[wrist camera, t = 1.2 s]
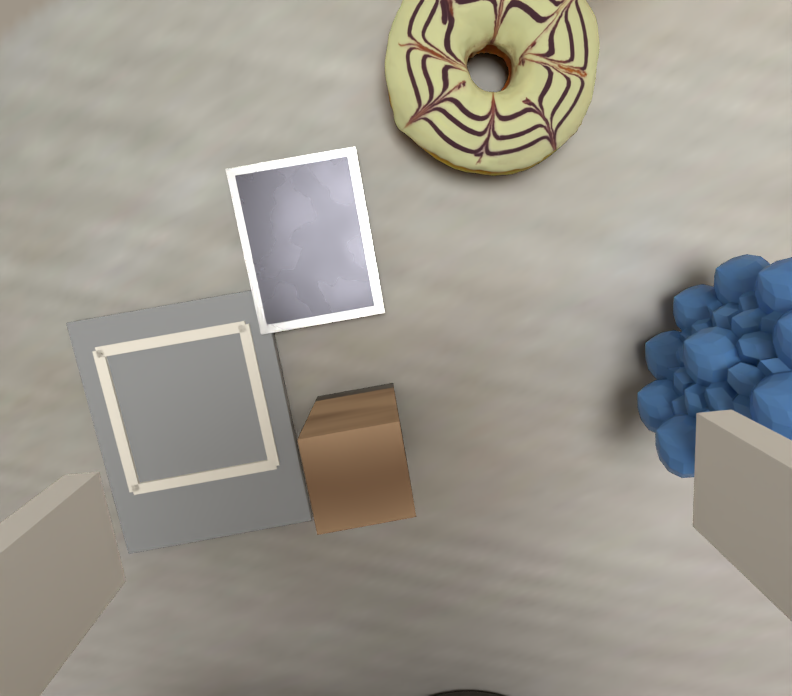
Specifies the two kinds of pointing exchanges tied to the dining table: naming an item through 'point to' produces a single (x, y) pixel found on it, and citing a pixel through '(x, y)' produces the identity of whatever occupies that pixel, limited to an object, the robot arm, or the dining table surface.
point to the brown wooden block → (356, 460)
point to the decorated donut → (491, 111)
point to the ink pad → (306, 240)
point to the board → (191, 421)
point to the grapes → (722, 357)
